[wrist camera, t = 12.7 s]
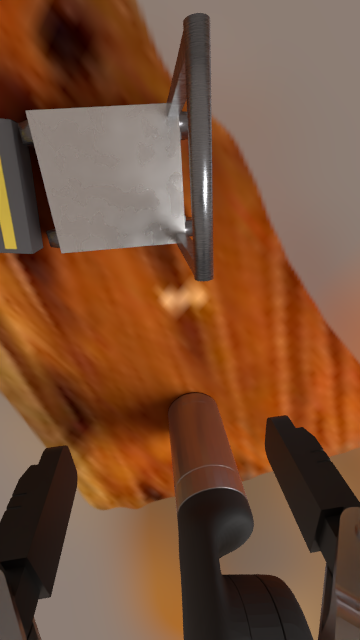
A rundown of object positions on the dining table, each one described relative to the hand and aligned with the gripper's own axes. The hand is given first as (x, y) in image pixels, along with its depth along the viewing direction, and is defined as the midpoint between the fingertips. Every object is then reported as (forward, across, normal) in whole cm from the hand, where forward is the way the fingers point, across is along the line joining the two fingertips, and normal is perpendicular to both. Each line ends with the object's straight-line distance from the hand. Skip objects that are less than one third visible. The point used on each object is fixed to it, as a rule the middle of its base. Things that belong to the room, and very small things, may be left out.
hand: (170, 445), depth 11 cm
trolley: (+30, +3, -10) cm, 32 cm away
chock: (+30, +15, -10) cm, 35 cm away
